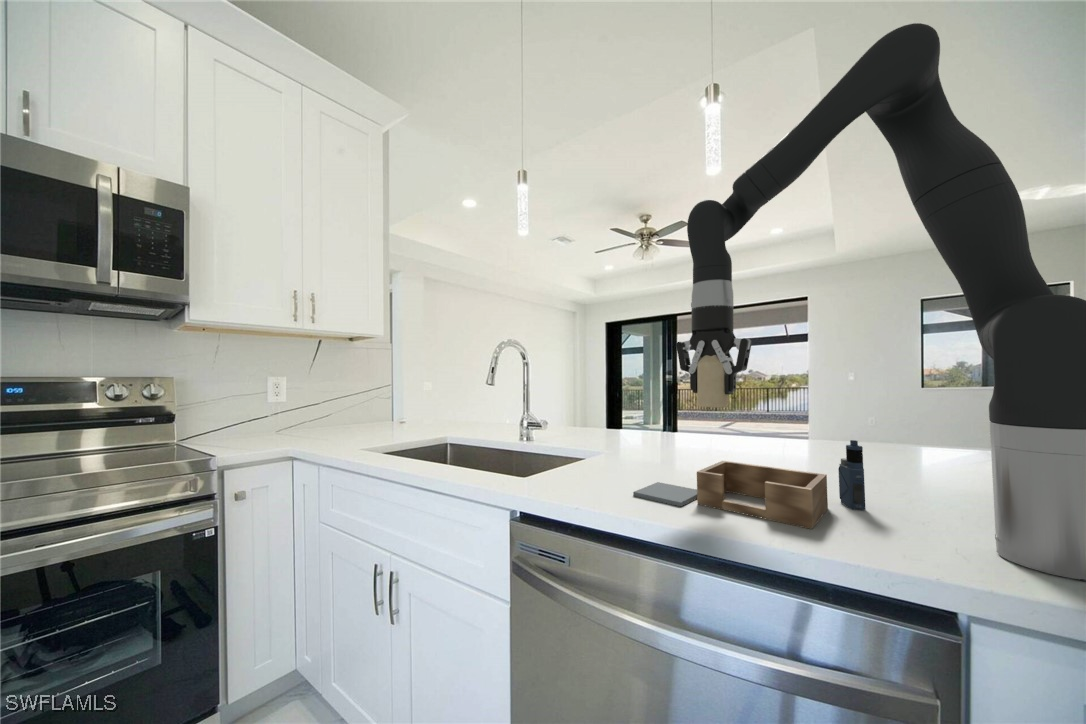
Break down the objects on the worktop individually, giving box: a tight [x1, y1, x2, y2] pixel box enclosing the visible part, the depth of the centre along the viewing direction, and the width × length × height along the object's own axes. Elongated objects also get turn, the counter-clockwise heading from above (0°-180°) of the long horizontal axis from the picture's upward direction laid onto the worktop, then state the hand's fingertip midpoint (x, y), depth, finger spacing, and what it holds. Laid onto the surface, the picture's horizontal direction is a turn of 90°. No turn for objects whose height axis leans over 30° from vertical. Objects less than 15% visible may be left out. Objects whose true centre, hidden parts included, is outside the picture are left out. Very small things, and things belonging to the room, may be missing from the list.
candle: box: [696, 355, 729, 409], centre depth 77 cm, size 6×6×10 cm
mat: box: [632, 481, 697, 507], centre depth 80 cm, size 10×10×1 cm
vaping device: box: [838, 439, 867, 511], centre depth 72 cm, size 3×5×12 cm, turn 166°
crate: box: [696, 460, 829, 530], centre depth 73 cm, size 18×13×6 cm
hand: (712, 393), depth 77 cm, fingers closed on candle, 5 cm apart
